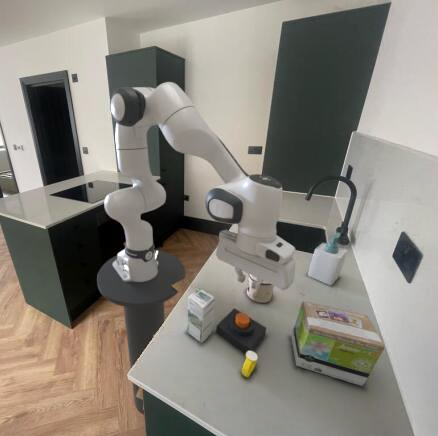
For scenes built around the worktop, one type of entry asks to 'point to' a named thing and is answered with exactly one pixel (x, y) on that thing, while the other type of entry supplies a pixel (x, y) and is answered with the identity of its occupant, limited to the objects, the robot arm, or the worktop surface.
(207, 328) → the syrup box
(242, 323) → the orange button cap
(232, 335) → the button base
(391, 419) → the worktop surface
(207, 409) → the worktop surface
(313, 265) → the soap bottle
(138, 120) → the robot arm
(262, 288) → the teacup with lid
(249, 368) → the yellow chunky piece
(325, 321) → the tea box
